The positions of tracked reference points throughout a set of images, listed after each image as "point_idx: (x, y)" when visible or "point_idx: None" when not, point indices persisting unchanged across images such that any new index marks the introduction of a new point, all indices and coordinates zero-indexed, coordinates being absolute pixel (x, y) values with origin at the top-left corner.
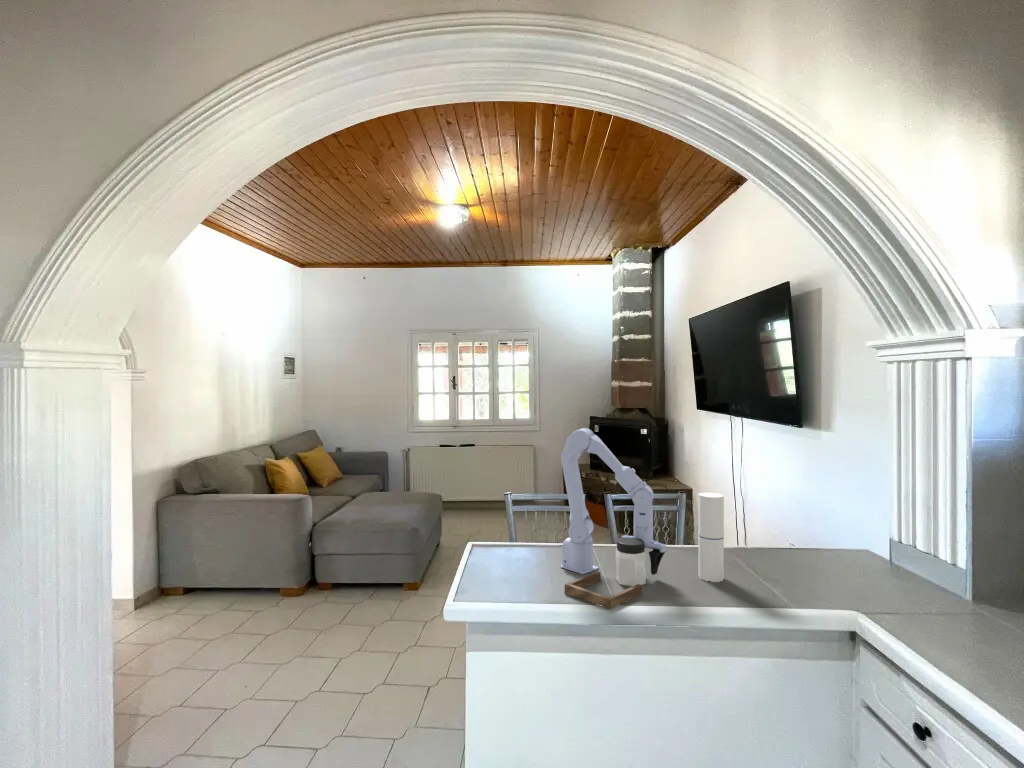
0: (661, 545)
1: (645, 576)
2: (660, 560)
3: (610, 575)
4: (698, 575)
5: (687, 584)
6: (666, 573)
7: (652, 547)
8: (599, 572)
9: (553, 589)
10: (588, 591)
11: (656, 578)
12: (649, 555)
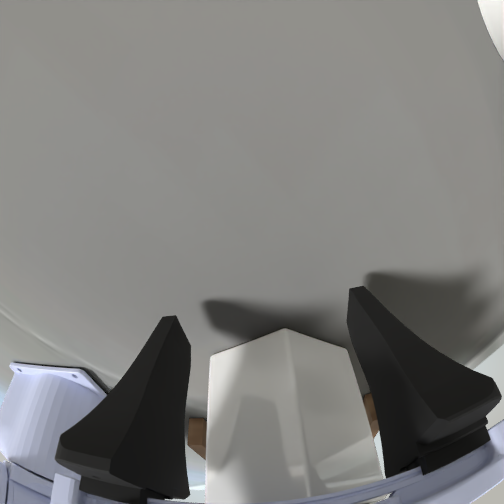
0: (491, 480)
1: (355, 378)
2: (427, 346)
3: None
4: (495, 37)
5: (496, 197)
6: (340, 123)
7: (401, 490)
8: (201, 446)
9: (200, 462)
10: None
11: (347, 261)
12: (383, 455)
